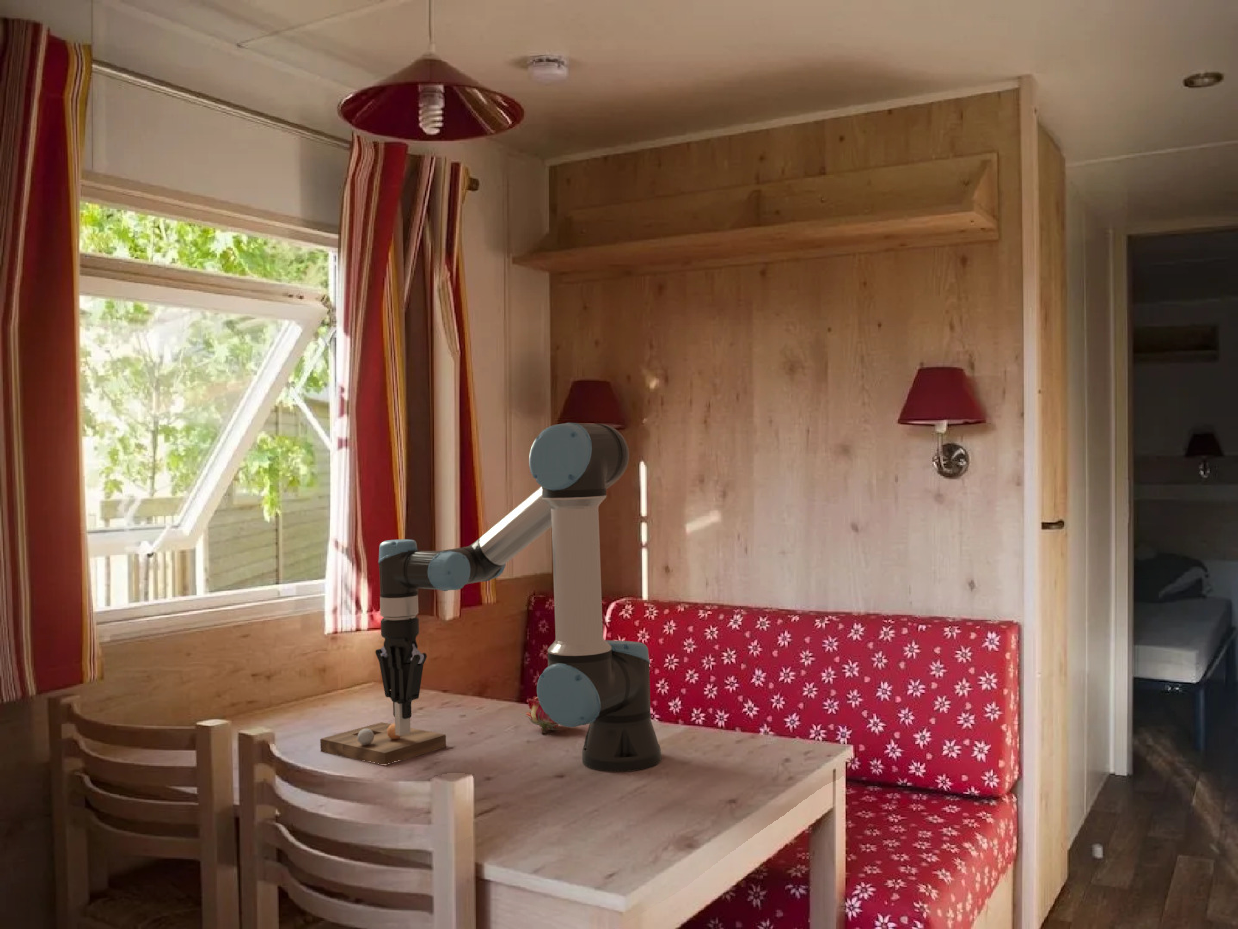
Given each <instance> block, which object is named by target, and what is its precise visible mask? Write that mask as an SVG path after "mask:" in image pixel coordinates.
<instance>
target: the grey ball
mask: <svg viewBox="0 0 1238 929" xmlns="http://www.w3.org/2000/svg"><path fill="white" fill-rule="evenodd" d="M373 739H374V734H373V732H372V731H371V730H370V729H362V730H361V731H360V732H359V733H358V741H359V743H361V744H362V745H368V744H370V743H371V742H372V741H373Z"/></svg>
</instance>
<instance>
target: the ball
mask: <svg viewBox="0 0 1238 929" xmlns="http://www.w3.org/2000/svg"><path fill="white" fill-rule="evenodd" d="M390 724H391V725H390V726H389V727H388V729H387V735H388V737H389V738H391V739H394V740H396V739H399V738H400V737H401V736H399V735H395V722H393V723H390Z"/></svg>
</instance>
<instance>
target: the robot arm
mask: <svg viewBox="0 0 1238 929" xmlns="http://www.w3.org/2000/svg"><path fill="white" fill-rule="evenodd" d="M533 440H534V441H533V442H532V444H531V448H530V451H529V455H528V456H529V457H528V466H529V471H530V474H531V475H532V478H534V479H535V480H536V484H538V485H539V487H538V488H537V489H536V490H534V491H533V492H532V493H531V494H529V496H527V497H526V498H525V499H523V501H522V502H520V503H519V504H518V505H517V506H516V507H514V508H513V509H512V510H511V511H510V512H508V513H507V514H506V515H505V516H504V517H502V518H501V519H500V520H499V521H498V522H496V523H495V524H493V526H491V528H489V529H488V530H487V531H486V532H485V533H483V534H482V535H481V536H480V537H479V538H478V539H477V540H475V541H474V542H473V543H471V544H470V545H468V546H463V547H458V548H457V547H456V548H449V549H442V550H419V548H418V546H417V545H418V544H417V542H416V540H414V539H407V538H406V539H404V538H403V539H390V540H389V539H388V540H384V541H382V542H381V543H379V546H378V547H379V549H378V550H379V551H378V571H379V574H378V575H379V590H380V591H379V609H380V610H379V614H380V616H381V617H382V619H381V620H380V635H381V637H382V638H384V641H383V646H382V647H381V648H378V649H375V655H376V657H377V660H378V663H379V668H380V674H381V679H382V680H381V681H382V685H383V690H384V695H385V697H386V698H390V700H391V702H392V708H393V709H392V710H393V711H392V714H393V717H394V723H395V735H399V736H402V735H405V734H409V733H411V731H410V728H411V718H412V702H413V701H415V700H417V699H419V697H420V692H421V683H422V678H423V670H424V665H425V662H426V660H427V657H428V655H427V653H426V652H421V651H419V649H418V647H419V646H418V643H417V637H418V635H419V634H420V620H419V618H418V616H417V615H418V614H419V589H424V590H434V591H435V590H437V591H438V590H439V591H442V592H447V591H459V590H461V589H462V588H464V586H465V585H469V584H475V583H481V582H482V583H483V582H488V581H491V580H493V579H497V578H498V577H500V576H501V575H502V574H503V572H504V571H505V568H506V566H507V565H506V564H507V563H508V562H510V561H511V560H513V558H514V557H515V556H517V555H518V554H519V553H520V552H522V551H523V550H524V549H526V548H527V547H528V546H529V545H531V544H532V543H533V542H534V541H535V540H537V539H538V538H539V537H541V536H542V535H544V533H545V532H547V531H548V530H549V529H551V542H552V544H551V545H552V547H551V548H552V569H553V571H552V573H553V597H554V598H553V599H554V602H553V604H554V626H555V627H554V629H555V630H554V631H555V638H554V639H555V640H554V641H553V642H552V644H550V646H549V647H548V648H547V667H546V668H544V670H543V671H542V673H541V674H540V676H539V678H538V680H537V684H536V694H537V696H536V697H538V700H539V703H540V705H541V707H542V709H543V710H544V712H545V713H546V714H548V716H549V717H550V718H551V719H552V720H553V721H554V722H556V723H558V724H559V725H560V726H562V727H567V728H575V727H577V728H578V727H581V726H586V725H589V726H588V728H587V732H586V735H585V740H584V744H583V747H582V750H581V753H582V754H581V758H582V759H581V763H582V764H583V765H584V766H585V767H588V768H589V769H593V770H597V771H603V772H604V771H605V772H631V771H632V772H633V771H639V770H640V771H641V770H644V769H649V768H652V767H654V766H656V765H658V764H659V763H661V761H662V752H661V751H662V750H661V746H660V744H659V742H658V738H657V735H656V731H655V728H654V724H653V723H652V718H651V676H650V664H651V661H650V657H649V656H650V655H649V648H648V646H647V645H646V644H645V643H643V642H640V641H630V640H611V639H609V640H608V639H607V640H605V638H604V634H603V632H604V631H603V628H604V627H603V626H604V625H603V605H602V602H603V601H602V597H603V596H602V577H601V576H602V574H601V573H602V572H601V549H600V548H601V544H600V542H601V541H600V520H599V519H600V516H599V514H600V513H599V506H600V505H601V503H603V501H605V500H606V498H607V489H609V488H610V487H611V486H613V485H614V484H616V482H617V481H619V480H620V479H621V477H622V476H623V475H624V474H625V471H626V470H627V468H628V465H629V459H630V451H629V450H630V449H629V446H628V443H627V441H626V439H625V437H624V436H623V435H622V434H621V432H619V431H618V430H617V429H616V428H614V427H613V426H611V425H608V424H604V423H581V422H580V423H579V422H566V423H559V424H553V425H550V426H548V427H546V428H544V429H543V430H542V431H540V432H539V434H538V435H537V436H536V437H535V439H533Z"/></svg>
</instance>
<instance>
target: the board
mask: <svg viewBox="0 0 1238 929" xmlns="http://www.w3.org/2000/svg"><path fill="white" fill-rule="evenodd" d="M391 724H392V723H387V722H381V721H380V722H378V723H377V722H376V723H374V724H370V725H367V726H364V727H363V726H362V727H358V728H355V729H351V730H348V731H344V732H340V733H337V734H333V735H329V736H326V737H321V738H320V739H319V743H320V745H319V746H320V752H324V753H328V754H331V755H332V754H333V755H336V754H337V755H336V756H340V755H342V756H341V757H345V756H346V757H345V758H349V757H350V759H353V758H354V759H353V760H359V761H362V760H365V761H364V762H366V761H371V762H375V763H379V764H388V763H392V762H394V761H398V760H402V761H405V760H408V758H409V759H412V758H414V757H418V756H420V755H421V754H422V755H424V754H427V753H430V752H434V751H437V750H440V749H443V748H446V747H447V736H446V735H447V734H443V733H441V732H440V733H438V732H435V731H434V732H433V731H427V730H422V729H417V728H413V727H410V731H411V733H409V734H405V735H402V736H401V737H400V738H399V739H396V740H394V739H391V738H389V737H388V735H387V729H388V727H389V726H390V725H391ZM362 729H370V730H371V731H372V732H373V734H374V739H373V741H372V742H371V743H370V744H368V745H362V744H361V743H359V741H358V733H359V732H360V731H361V730H362ZM417 755H418V756H417ZM422 755H421V756H422ZM411 757H412V758H411ZM404 759H405V760H404ZM371 762H370V763H371ZM375 763H374V764H375ZM379 764H378V765H379Z"/></svg>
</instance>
